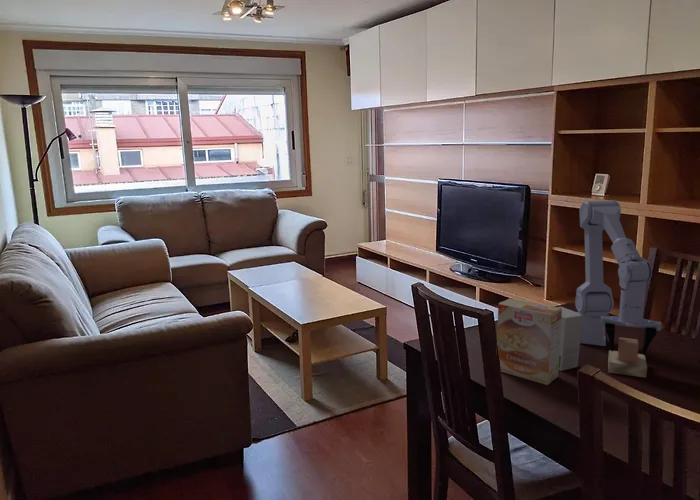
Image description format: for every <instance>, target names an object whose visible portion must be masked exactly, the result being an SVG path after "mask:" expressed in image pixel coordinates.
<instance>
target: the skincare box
mask: <svg viewBox="0 0 700 500" xmlns="http://www.w3.org/2000/svg"><path fill="white" fill-rule="evenodd" d="M556 307H557V308H562V318H561V334H560V351H559V369H558V371H561V372H563V371H565V370H566V371H567V370H570V369H574V368H578V367H579V360H580V359H579V356H580V347H581V343H580V339H581V329H582V320H583V315H581V314H578V313H576V312H577V311H574V310H571V309H568V308H565V307H564V306H556Z"/></svg>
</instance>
